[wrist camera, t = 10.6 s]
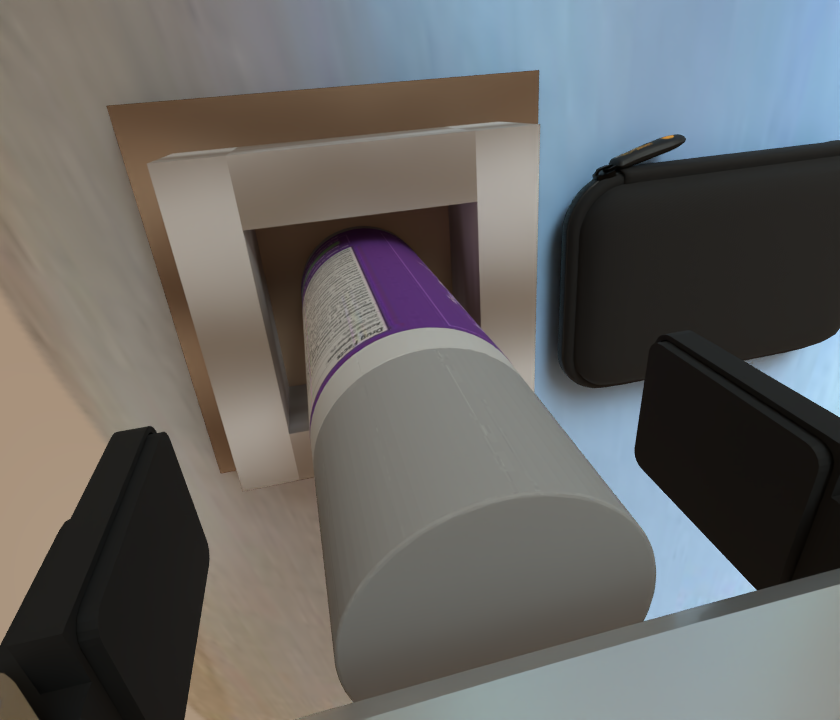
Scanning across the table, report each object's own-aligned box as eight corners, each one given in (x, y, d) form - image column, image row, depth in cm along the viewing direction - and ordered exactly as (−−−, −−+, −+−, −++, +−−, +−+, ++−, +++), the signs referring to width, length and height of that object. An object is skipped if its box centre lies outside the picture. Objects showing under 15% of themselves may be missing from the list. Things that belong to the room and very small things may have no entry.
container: (447, 272, 21) (728, 566, 7) (375, 363, 22) (511, 765, 8) (349, 198, 19) (494, 417, 5) (275, 302, 20) (247, 700, 6)
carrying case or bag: (860, 108, 23) (549, 144, 21) (934, 109, 21) (587, 150, 18) (802, 329, 28) (544, 378, 26) (856, 352, 25) (573, 409, 23)
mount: (117, 106, 17) (62, 105, 13) (525, 72, 19) (590, 62, 15) (223, 456, 23) (209, 532, 19) (522, 400, 26) (567, 456, 21)
